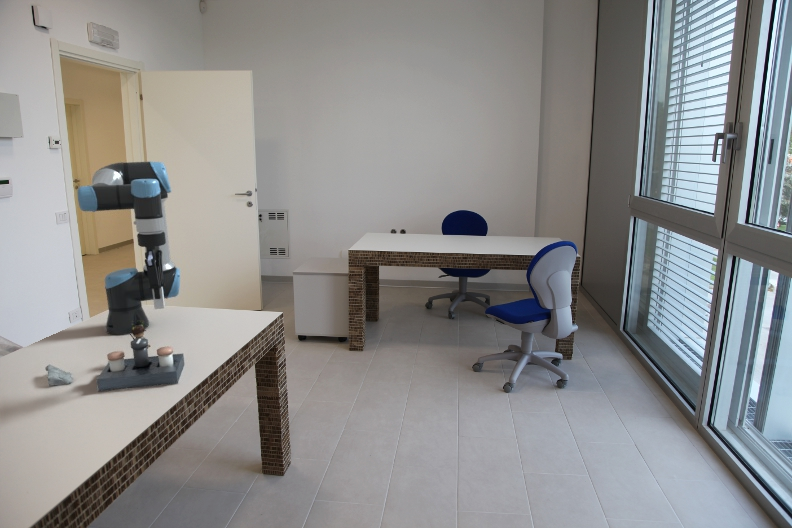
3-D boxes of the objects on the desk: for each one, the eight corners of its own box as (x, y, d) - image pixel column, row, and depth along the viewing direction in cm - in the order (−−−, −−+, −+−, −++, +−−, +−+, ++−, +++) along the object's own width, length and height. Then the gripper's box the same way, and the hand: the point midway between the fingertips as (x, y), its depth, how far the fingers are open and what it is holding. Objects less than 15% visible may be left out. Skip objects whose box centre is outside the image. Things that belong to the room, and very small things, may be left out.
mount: (111, 372, 168) (109, 360, 167) (184, 364, 173) (183, 353, 172) (98, 391, 155) (96, 379, 154) (177, 383, 160) (176, 371, 159)
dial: (135, 361, 165) (132, 338, 163) (151, 360, 166) (149, 336, 164) (131, 368, 160) (128, 343, 158) (148, 366, 161) (145, 342, 159)
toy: (145, 365, 173) (139, 322, 169) (130, 364, 174) (124, 321, 170) (157, 358, 179) (151, 316, 175) (142, 357, 180) (137, 315, 176)
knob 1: (113, 376, 164) (109, 351, 162) (129, 374, 165) (125, 350, 163) (108, 382, 160) (105, 357, 158) (125, 381, 161) (121, 356, 159)
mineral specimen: (70, 373, 170) (68, 360, 169) (74, 383, 161) (72, 370, 160) (46, 377, 166) (44, 364, 166) (48, 388, 157) (47, 375, 156)
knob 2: (161, 371, 167) (158, 347, 165) (176, 369, 168) (173, 345, 166) (158, 377, 163) (155, 352, 161) (174, 375, 164) (171, 351, 162)
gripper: (142, 229, 160) (151, 302, 166) (131, 236, 148) (141, 315, 153) (168, 227, 162) (176, 300, 167) (160, 235, 150) (169, 313, 155)
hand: (159, 307), depth 160 cm, fingers closed
